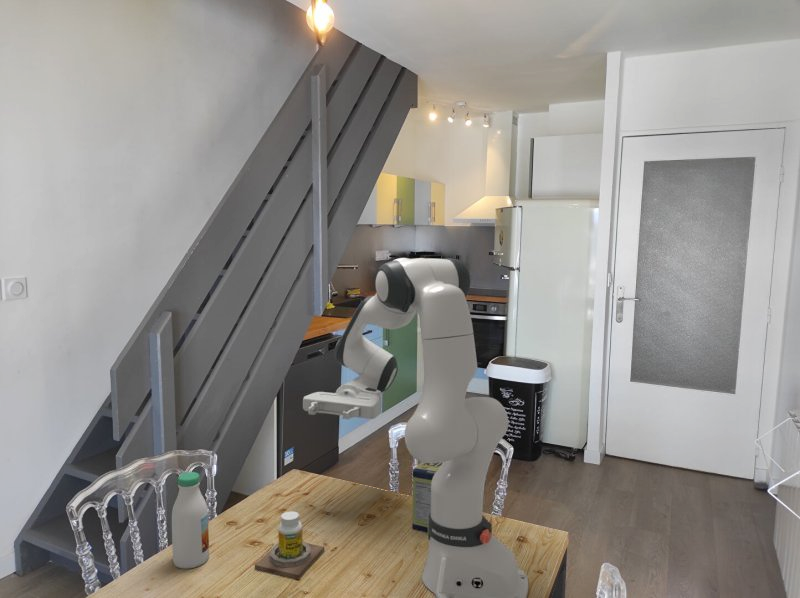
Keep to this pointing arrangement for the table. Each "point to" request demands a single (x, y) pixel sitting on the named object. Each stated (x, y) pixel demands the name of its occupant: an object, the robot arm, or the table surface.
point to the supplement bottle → (290, 536)
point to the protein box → (422, 494)
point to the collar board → (289, 561)
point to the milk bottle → (189, 524)
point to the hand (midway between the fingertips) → (327, 413)
